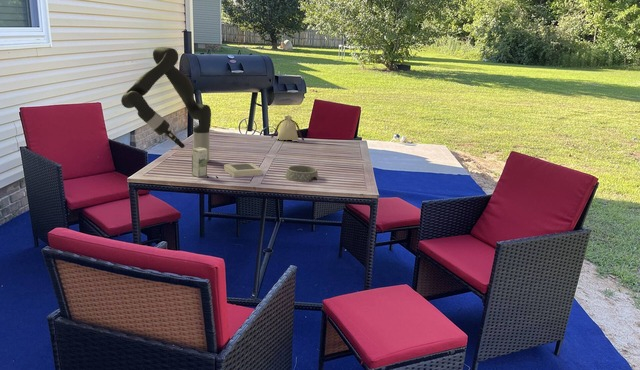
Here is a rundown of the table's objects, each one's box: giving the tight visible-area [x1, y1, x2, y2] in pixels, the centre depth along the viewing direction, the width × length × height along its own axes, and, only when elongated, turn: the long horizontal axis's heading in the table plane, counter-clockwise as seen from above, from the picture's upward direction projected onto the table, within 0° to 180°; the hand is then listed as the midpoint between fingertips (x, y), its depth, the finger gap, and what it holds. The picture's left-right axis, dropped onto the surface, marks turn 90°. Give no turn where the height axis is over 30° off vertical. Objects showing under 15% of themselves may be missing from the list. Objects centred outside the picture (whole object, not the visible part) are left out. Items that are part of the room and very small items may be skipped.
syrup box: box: [191, 147, 208, 178], centre depth 256 cm, size 6×6×14 cm
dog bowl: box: [284, 164, 319, 183], centre depth 266 cm, size 17×18×5 cm
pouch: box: [270, 115, 305, 142], centre depth 362 cm, size 25×8×19 cm, turn 91°
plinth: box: [223, 162, 263, 178], centre depth 269 cm, size 16×16×3 cm
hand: (181, 145), depth 249 cm, fingers open, 8 cm apart
